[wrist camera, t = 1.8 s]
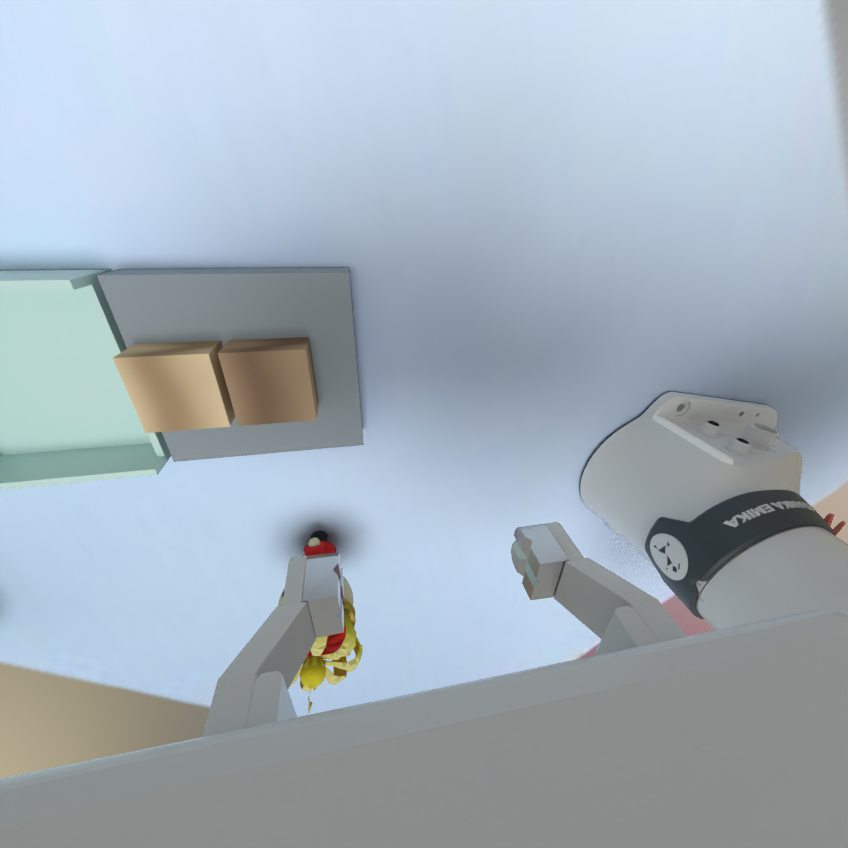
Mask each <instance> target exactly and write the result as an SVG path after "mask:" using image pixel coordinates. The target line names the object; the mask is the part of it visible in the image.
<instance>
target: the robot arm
mask: <svg viewBox="0 0 848 848" xmlns="http://www.w3.org/2000/svg"><path fill="white" fill-rule="evenodd" d="M777 421H778V413H777V411H776V410H775V409H774V408H772V407H770V406H768V405H763V404H757V403H750V402H742V401H735V400H728V399H721V398H714V397H707V396H700V395H692V394H685V393H678V392H668V393H665V394H664V395H662V396H661V397H659V398H658V399H657V400H656V401H655V402H654V403H653V404H652V405H651V406H650V407H649V408H648V409H647V410H646V411H645V412H644V413H643V414H642V415H641V416H640V417H638V418H637V419H635V420H634V421H632V422H630V423H629V424H627V425H625V426H624V427H622V428H621V429H619V430H618V431H617V432H615V433H614V434H613V435H611V436H610V437H609V438H608V439H607V440H606V441H605V442H604V443H603V444H602V445H601V446H600V447H599V448H598V449H597V451H596V452H595V453H594V455H593V456H592V457H591V459H590V460H589V462H588V464H587V466H586V468H585V470H584V472H583V475H582V479H581V485H580V493H581V498H582V501H583V503H584V504H585V506H586V507H587V508H588V509H589V510H590V511H592V512H593V513H594V514H596V515H597V516H599V517H600V518H601V519H603V520H604V521H605V522H606V523H607V525H608V527H609V528H610V529H611V530H612V531H613V532H614V533H616V534H619V535H621V536H622V537H623V538H624V539H625V540H626V541H627V542H629V543H630V544H631V545H632V546H633V547H634V548H635V549H636V550H637V551H638V552H639V553H640V554H641V555H642V556H643V557H644V558H645V559H646V560H647V561H648V562H650V563H651V564H652V565H653V566H654V567H655V568H656V569H657V571H658V572H659V574H660V576H661V577H662V579H663V581H664V582H665V583H666V584H667V585H668V587H669V588H670V589H671V590H672V591H673V592H674V593H675V595H676V596H677V597H678V599H679V600H680V601H681V603H682V604H683V605H685V606H686V607H687V608H688V609H689V610H690V611H691V612H692V613H693V614H694V615H695V616H696V617H699V618H700V619H704V620H705V621H706V622H707V623H708V624H709V625H710V626H711V628H712V629H713V630H714V631H712V632H707V633H702V634H697V635H692V636H688V637H687V636H686V635H685V634H684V632H683V631H682V630H681V629H680V627H679V626H678V625H677V624H676V622H675V621H674V620H673V619H672V617H671V616H670V615H669V614H668V612H667V611H666V610H665V609H664V608H663V606H662V605H661V604H660V602H659V601H658V600H657V599H656V598H654V597H652V596H651V595H649V594H647V593H646V592H644V591H642V590H641V589H639V588H637V587H636V586H634V585H632V584H631V583H629V582H627V581H626V580H624V579H622V578H621V577H619V576H618V575H616V574H614V573H613V572H611V571H609V570H608V569H606V568H604V567H603V566H601V565H599V564H598V563H596V562H594V561H593V560H591V559H589V558H584V557H583V556H582V554H581V553H580V551H579V550H578V549H577V547H576V546H575V544H574V543H573V541H572V540H571V539H570V537H569V536H568V534H567V533H566V531H565V530H564V529H563V527H562V526H561V524H560V523H558V522H553V523H546V524H538V525H531V526H524V527H518V528H516V530H515V533H514V536H515V538H516V541H515V542H514V543H513V544H512V549H511V554H512V561H513V564H514V566H515V569H516V571H517V572H518V573H520V574H521V575H522V576H524V577H523V582H522V583H523V586H524V588H525V590H526V592H527V594H528V596H529V598H530V600H535V599H542V598H549V597H554V599H556V600H557V601H558V602H559V603H560V604H561V605H563V606H564V607H565V608H566V609H567V610H568V611H569V612H571V613H572V614H573V615H574V616H575V617H576V618H578V619H579V620H580V621H581V622H582V623H583V624H585V625H586V626H587V627H588V628H589V629H590V630H592V631H593V632H594V633H595V634H596V635H597V636H598V637H600V638H601V641H600V644H599V646H598V648H597V650H596V653H595V656H592V657H587V658H582V659H577V660H572V661H567V662H562V663H557V664H553V665H548V666H543V667H538V668H533V669H528V670H523V671H519V672H514V673H509V674H504V675H499V676H494V677H490V678H485V679H480V680H475V681H470V682H466V683H461V684H456V685H451V686H446V687H441V688H437V689H432V690H427V691H422V692H417V693H413V694H408V695H403V696H398V697H393V698H389V699H384V700H379V701H374V702H369V703H364V704H360V705H355V706H350V707H345V708H340V709H336V710H331V711H326V712H321V713H316V714H311V715H307V716H302V717H297V715H296V713H295V710H294V707H293V704H292V701H291V698H290V695H289V692H288V688H289V687H290V685H291V683H292V681H293V680H294V678H295V676H296V674H297V673H298V671H299V669H300V667H301V665H302V664H303V662H304V660H305V658H306V657H307V655H308V653H309V651H310V649H311V648H312V646H313V644H314V642H315V641H316V639H315V638H319V637H324V636H329V635H334V634H339V633H344V610H343V603H342V601H343V599H344V584H343V572H342V568H341V559H340V553H339V552H338V553H328V554H319V555H310V556H303V557H295V558H291V559H290V561H289V565H288V572H287V578H286V584H285V591H284V597H283V603H282V606H277V607H276V608H275V610H274V611H273V612H272V613H271V615H270V616H269V617H268V618H267V620H266V621H265V622H264V623H263V625H262V626H261V627H260V628H259V630H258V631H257V632H256V633H255V635H254V636H253V637H252V638H251V640H250V641H249V642H248V643H247V644H246V646H245V647H244V648H243V649H242V651H241V652H240V653H239V654H238V656H237V657H236V658H235V659H234V661H233V662H232V663H231V664H230V666H229V667H228V668H227V669H226V671H225V672H224V673H223V674H222V676H221V677H220V678H219V679H218V682H217V686H216V689H215V693H214V697H213V700H212V704H211V708H210V711H209V715H208V719H207V722H206V726H205V730H204V733H203V737H201V738H196V739H191V740H186V741H181V742H176V743H172V744H167V745H162V746H157V747H153V748H148V749H143V750H138V751H134V752H128V753H123V754H119V755H114V756H109V757H104V758H99V759H94V760H90V761H85V762H80V763H75V764H70V765H66V766H60V767H55V768H51V769H46V770H41V771H36V772H31V773H27V774H21V775H17V776H12V777H7V778H2V779H0V848H848V544H847V543H845V542H844V541H842V540H841V539H839V538H838V537H836V534H837V533H838V532H839V531H840V530H841V528H842V527H843V526H844V525H845V522H844V521H842V522H841V523H839V524H838V525H837V526H836V527H835V528H834V529H832V528H831V527H830V525H831V523H832V520H833V517H834V515H833V514H828V515H827V516H826V517H825V519H823V518H822V517H821V516H820V515H819V514H818V513H817V512H816V510H815V509H814V508H813V507H812V506H810V505H809V504H808V503H807V502H806V501H805V500H804V499H803V498H802V497H801V496H800V481H801V473H802V457H801V455H800V453H799V452H798V451H797V450H796V449H795V448H794V447H792V446H791V445H789V444H788V443H786V442H784V441H782V440H781V439H779V438H778V437H779V434H780V433H779V432H778V431H777V430H776V427H777Z"/></svg>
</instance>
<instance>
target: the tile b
mask: <svg viewBox="0 0 848 848" xmlns="http://www.w3.org/2000/svg"><path fill="white" fill-rule="evenodd" d="M218 356H219V360H220V363H221V367H222V370H223V374H224V378H225V381H226V385H227V388H228V392H229V395H230V399H231V402H232V406H233V409H234V413H235V416H236V420H237V423H238V426H246V425H259V424H272V423H286V422H299V421H312V420H317V414H318V406H319V401H318V394H317V388H316V381H315V374H314V367H313V361H312V354H311V347H310V340H309V337H299V338H273V339H248V340H229V341H228V342H227V343H226V344H225V345H224V347H223V348H222V349H221V350H220V351H219V352H218Z"/></svg>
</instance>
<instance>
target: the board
mask: <svg viewBox="0 0 848 848" xmlns="http://www.w3.org/2000/svg"><path fill="white" fill-rule="evenodd" d="M97 277H98V280H99V282H100V285H101V287H102V289H103V292H104V294H105V297H106V299H107V301H108V304H109V306H110V309H111V311H112V314H113V316H114V318H115V321H116V323H117V326H118V328H119V330H120V333H121V335H122V338H123V340H124V342H125V345H126V347H127V348H129V347H130V346H132V345H134V344H147V343H172V342H197V341H221V343H222V347H224V345H225V344H226V343H227V342H228V341H229V340H248V339H273V338H299V337H309V340H310V347H311V354H312V361H313V367H314V374H315V381H316V388H317V394H318V401H319V406H318V414H317V420H312V421H299V422H286V423H272V424H259V425H246V426H238V423H237V420H236V417H235V419H234V420H233V422H232V424H231V426H230V427H220V428H207V429H194V430H181V431H168V432H162V434H163V437H164V439H165V441H166V444H167V446H168V449H169V451H170V453H171V456H172V458H173V461H174V462H176V461H187V460H198V459H209V458H221V457H232V456H243V455H254V454H266V453H277V452H288V451H299V450H310V449H322V448H333V447H344V446H355V445H364V444H363V431H362V419H361V407H360V395H359V383H358V371H357V359H356V347H355V335H354V323H353V311H352V299H351V287H350V275H349V267H299V268H186V269H118V270H115V271H111V272H107V273H104V274H100V275H97Z"/></svg>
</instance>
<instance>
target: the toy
mask: <svg viewBox="0 0 848 848" xmlns="http://www.w3.org/2000/svg"><path fill="white" fill-rule="evenodd" d="M327 538H328V535H327V533H325V532H322V531H317V532H315V533H313V534H312V535H311V539H310V540H309V542H308V545H307V546H305V548H304V549H303V556H310V555H319V554H328V553H336V548H335V546H334V545H333V544H331V543H330V542H327ZM343 584H344V599H343V601H342V603H343V610H344V633H339V634H334V635H329V636H324V637H319V638H315V639H316V641H315V642H314V644H313V646H312V648H311V649H310V651H309V653H308V655H307V657H306V658H305V660H304V662H303V666H302V667H300V669H299V671H298V673H297V674H296V676H295V678H294V680H293V681H292V683H291V685H292V684H293V683H294V682H295V681H296V679H297V678H298V676H299V675H300V686H301V688H302V689H303V690H304V691H312V690H315V688H316V687H317V686H319V685H320V684H321V683H322V681H323V680H324V677H326V679H327V681H328V683H329V684H333V685H335V684H337V683H339V682H340V681H341V680H342V679H344V678H345V677H346V674H347V671H348V672H350V671H352V670H354V669H355V668H356V666H357V665H358V663H359V661H360V659H361V655H362V645H360V643H359V641H358V639H357V637H356V632H355V630H354V625H355V609H354V607H353V594H352V590H351V587H350V585H349V583H348V581H347V580H346V578H345V577H344V576H343ZM284 591H285V588H284V590H283V592H282V594H281V597H280V600H279V604H278V606H282V603H283V597H284ZM352 649H354V651H355V653H356V658H355V659H353V660H351V661H350V662H348V663H347V661H346V656H349V655H350V652H351V651H352ZM323 659H332V660H333V662H332V661H326V660H323ZM325 665H329V666H333V667H334V674H333V673H332V672H331V671H330V670H329V669H328V668H327V667H326V666H325ZM291 685H290V686H291ZM308 701H309V709H308V713H309V712H310V709H311V706H312V703H313V702H310V700H309V697H308Z"/></svg>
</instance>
